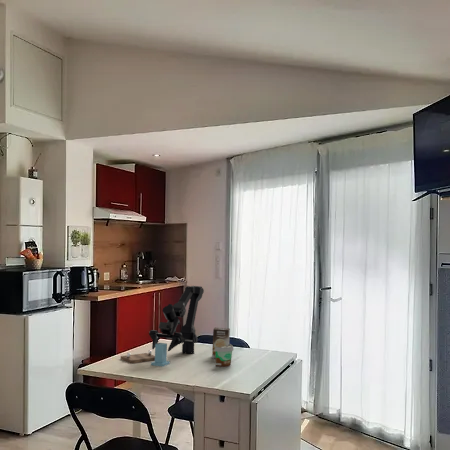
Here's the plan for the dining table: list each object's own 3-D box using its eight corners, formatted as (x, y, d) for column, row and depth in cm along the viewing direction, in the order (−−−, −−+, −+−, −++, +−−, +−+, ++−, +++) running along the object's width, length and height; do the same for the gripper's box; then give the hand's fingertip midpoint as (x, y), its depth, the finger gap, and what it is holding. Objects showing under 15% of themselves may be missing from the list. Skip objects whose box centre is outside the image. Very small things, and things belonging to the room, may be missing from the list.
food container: (223, 368, 248) (224, 348, 248) (214, 366, 251) (214, 346, 252) (237, 364, 257) (238, 345, 258) (228, 362, 261) (229, 343, 262)
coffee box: (211, 358, 270) (212, 329, 271) (212, 355, 277) (213, 327, 278) (228, 359, 269) (229, 329, 270) (229, 356, 276) (230, 328, 277)
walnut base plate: (146, 355, 271) (146, 352, 271) (158, 359, 262) (158, 357, 262) (120, 359, 261) (120, 356, 261) (131, 363, 252) (131, 360, 252)
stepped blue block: (157, 362, 257) (158, 342, 257) (169, 363, 254) (170, 343, 255) (151, 364, 250) (151, 344, 251) (163, 366, 248) (163, 345, 248)
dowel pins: (150, 354, 267) (150, 350, 267) (151, 355, 266) (152, 350, 266) (126, 357, 258) (126, 353, 258) (128, 358, 256) (128, 353, 257)
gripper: (151, 314, 262) (139, 338, 251) (182, 317, 255) (171, 342, 244) (158, 327, 268) (146, 351, 258) (188, 330, 262) (178, 355, 251)
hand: (160, 349), depth 252 cm, fingers open, 9 cm apart
